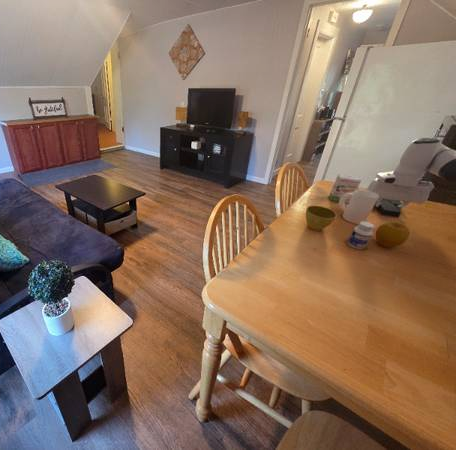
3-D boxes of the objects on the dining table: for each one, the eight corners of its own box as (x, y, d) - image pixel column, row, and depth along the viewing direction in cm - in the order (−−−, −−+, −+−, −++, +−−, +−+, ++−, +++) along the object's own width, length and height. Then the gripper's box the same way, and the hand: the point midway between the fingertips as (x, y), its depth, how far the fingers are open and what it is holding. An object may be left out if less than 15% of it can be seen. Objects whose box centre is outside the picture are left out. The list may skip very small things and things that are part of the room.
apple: (403, 255, 83) (418, 233, 79) (372, 247, 87) (385, 226, 82) (397, 242, 90) (410, 221, 85) (368, 235, 93) (380, 215, 88)
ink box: (330, 200, 119) (339, 177, 113) (328, 196, 123) (337, 174, 117) (350, 203, 116) (362, 180, 110) (348, 199, 120) (359, 176, 114)
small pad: (387, 205, 115) (390, 200, 114) (398, 217, 105) (401, 212, 104) (372, 203, 117) (374, 198, 115) (381, 214, 107) (384, 209, 106)
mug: (340, 209, 111) (351, 184, 105) (369, 221, 103) (383, 195, 96) (329, 213, 108) (340, 188, 102) (358, 225, 99) (372, 199, 93)
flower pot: (327, 237, 92) (335, 221, 88) (298, 228, 97) (304, 212, 93) (330, 226, 99) (338, 210, 95) (303, 218, 104) (309, 203, 100)
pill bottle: (349, 239, 91) (359, 218, 87) (366, 245, 88) (378, 224, 83) (345, 244, 88) (356, 224, 83) (362, 251, 85) (375, 230, 80)
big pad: (390, 198, 121) (393, 194, 120) (400, 209, 111) (403, 204, 110) (357, 194, 125) (359, 189, 124) (364, 204, 116) (366, 199, 114)
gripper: (432, 179, 101) (413, 209, 108) (373, 173, 107) (358, 201, 115) (440, 185, 96) (420, 215, 103) (378, 178, 102) (362, 207, 110)
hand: (387, 208), depth 109 cm, fingers closed on small pad, 6 cm apart
